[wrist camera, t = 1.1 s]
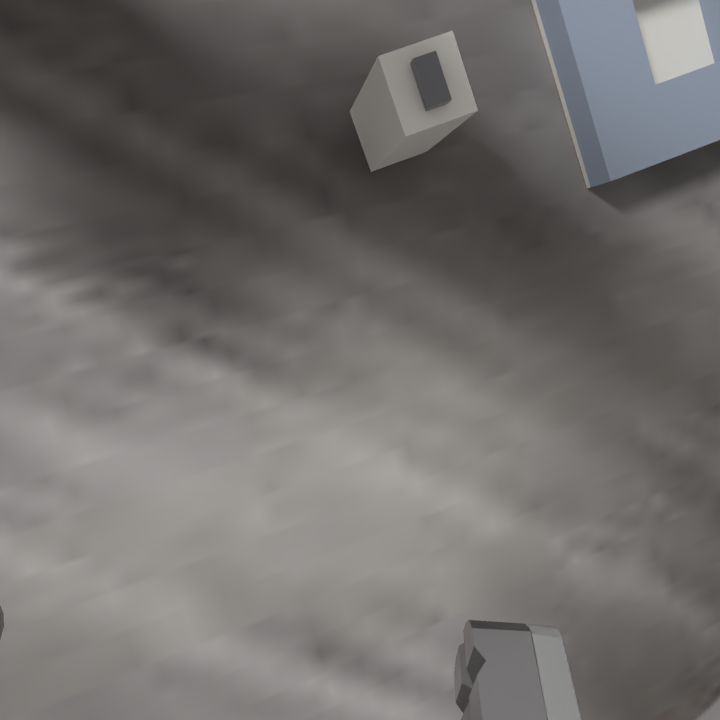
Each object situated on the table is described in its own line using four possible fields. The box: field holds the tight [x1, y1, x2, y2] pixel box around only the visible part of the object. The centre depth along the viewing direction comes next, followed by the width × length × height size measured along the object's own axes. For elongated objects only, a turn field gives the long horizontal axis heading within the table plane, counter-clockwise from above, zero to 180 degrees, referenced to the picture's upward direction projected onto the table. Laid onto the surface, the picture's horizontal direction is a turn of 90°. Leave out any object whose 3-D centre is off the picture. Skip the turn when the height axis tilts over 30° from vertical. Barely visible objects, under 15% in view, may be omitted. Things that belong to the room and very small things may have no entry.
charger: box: [350, 31, 478, 172], centre depth 36 cm, size 4×4×11 cm
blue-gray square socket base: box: [531, 0, 720, 188], centre depth 41 cm, size 16×16×3 cm
